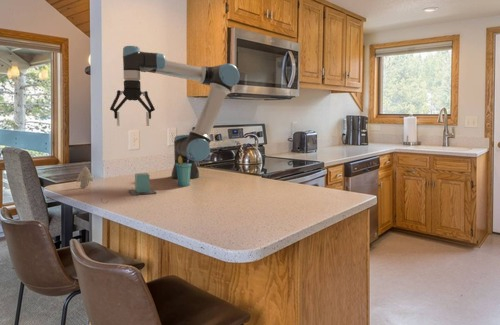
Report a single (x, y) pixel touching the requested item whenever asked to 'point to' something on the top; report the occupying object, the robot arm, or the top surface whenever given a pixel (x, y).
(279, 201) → the top surface
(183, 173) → the cup
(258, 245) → the top surface
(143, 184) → the teal rectangular block
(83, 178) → the arrowhead
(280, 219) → the top surface
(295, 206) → the top surface
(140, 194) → the tan and gray stand
